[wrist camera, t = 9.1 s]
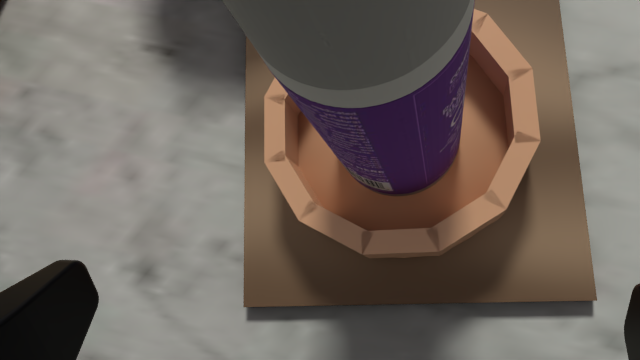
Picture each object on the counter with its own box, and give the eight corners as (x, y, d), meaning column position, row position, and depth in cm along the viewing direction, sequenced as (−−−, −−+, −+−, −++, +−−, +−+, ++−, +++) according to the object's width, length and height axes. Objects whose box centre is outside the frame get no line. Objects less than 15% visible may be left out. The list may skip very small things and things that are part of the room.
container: (477, 176, 20) (559, -124, 6) (356, 212, 21) (161, 25, 6) (438, 64, 21) (427, -411, 7) (325, 102, 22) (105, -261, 8)
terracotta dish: (539, 253, 20) (552, 247, 17) (284, 262, 22) (263, 258, 19) (514, 10, 22) (522, -25, 19) (282, 40, 24) (264, 11, 21)
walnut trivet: (593, 300, 19) (596, 300, 19) (248, 306, 22) (243, 307, 22) (552, -27, 22) (554, -34, 22) (249, 15, 25) (246, 10, 24)
